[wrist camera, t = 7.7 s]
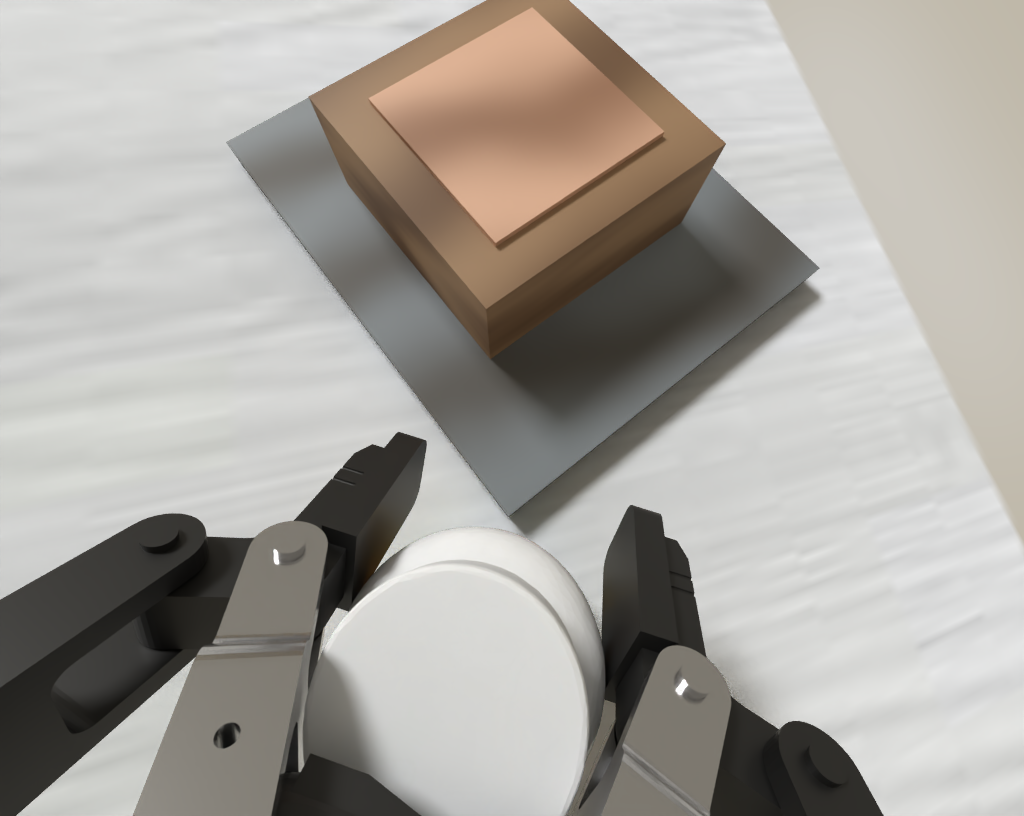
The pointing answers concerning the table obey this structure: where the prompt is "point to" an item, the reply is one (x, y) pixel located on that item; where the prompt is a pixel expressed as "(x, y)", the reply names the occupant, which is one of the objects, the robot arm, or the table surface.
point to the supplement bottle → (463, 678)
